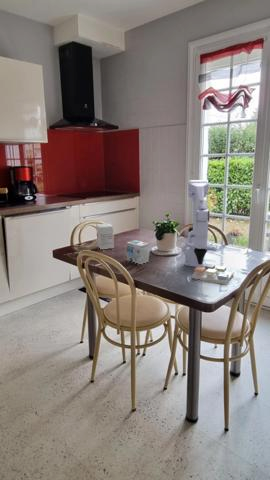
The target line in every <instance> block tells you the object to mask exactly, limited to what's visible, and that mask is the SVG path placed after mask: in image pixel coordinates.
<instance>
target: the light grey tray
mask: <svg viewBox="0 0 270 480" xmlns="http://www.w3.org/2000/svg"><path fill="white" fill-rule="evenodd" d="M203 268H204V266H203ZM214 269H215V270H216V268H214ZM219 273H225V274H229V276H228V278H227V279H226V280H223V279H217V275H218V274H219ZM234 274H235V272H232V271H228V270H226V271H225V272H218V271H217V273H216V274H215V275H208V274H206V269H205V272H204V273H203V274H202V273H196V272H194V273H193V274H192V275H191V276H192V277H191V279H193V278H194V279H195V280H198V279H200V281H204V282H210V283H217V284H221V285H228V283H229V281H231V279H232V278H233V277H234Z"/></svg>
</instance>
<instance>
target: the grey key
mask: <svg viewBox="0 0 270 480" xmlns="http://www.w3.org/2000/svg"><path fill="white" fill-rule="evenodd" d="M203 267H204V268H206V270H208V269H216V265H215V264H210V263H206V264H205V265H204V266H203Z"/></svg>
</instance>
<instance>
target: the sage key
mask: <svg viewBox="0 0 270 480" xmlns="http://www.w3.org/2000/svg"><path fill="white" fill-rule="evenodd" d="M215 269H216V270H217V271H218V272H225V271H227V266H222V265H217V266H215Z"/></svg>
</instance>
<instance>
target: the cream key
mask: <svg viewBox="0 0 270 480" xmlns="http://www.w3.org/2000/svg"><path fill="white" fill-rule="evenodd" d="M215 269H216V268H214V269H208V270H206V274H208V275H215V274H216V273H217V270H215Z"/></svg>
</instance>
